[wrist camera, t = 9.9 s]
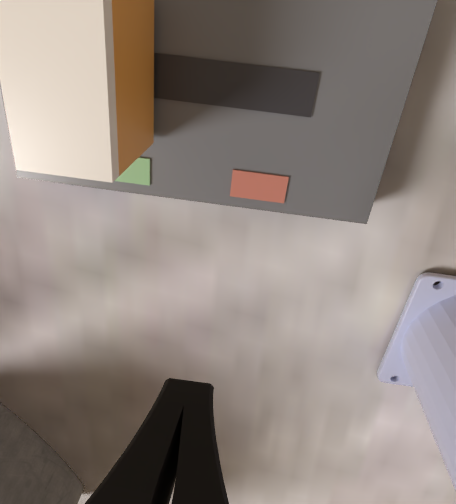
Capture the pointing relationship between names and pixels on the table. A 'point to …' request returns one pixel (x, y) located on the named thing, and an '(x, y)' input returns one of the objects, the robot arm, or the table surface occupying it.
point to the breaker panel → (275, 103)
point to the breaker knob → (78, 84)
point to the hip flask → (32, 467)
